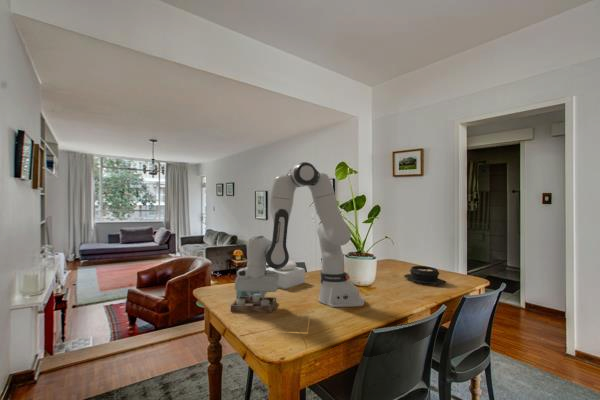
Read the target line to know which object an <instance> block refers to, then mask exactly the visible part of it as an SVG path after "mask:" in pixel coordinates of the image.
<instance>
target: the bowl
mask: <svg viewBox="0 0 600 400" xmlns="http://www.w3.org/2000/svg"><path fill="white" fill-rule="evenodd" d="M250 294H251V296H252V295H253V294H260V295H261V296H263V294H262V292H254V291H251V292H250ZM239 296H248V295H247V291H236V299H237V298H238V297H239Z"/></svg>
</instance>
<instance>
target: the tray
mask: <svg viewBox="0 0 600 400" xmlns="http://www.w3.org/2000/svg"><path fill="white" fill-rule="evenodd" d="M240 298H243V299H245V305H236V304H237V299H240ZM264 299H267V300H269V306H261V304H260V305H253V304H252V301H249V297H248V296H239V297H238V298H237V297H236V299H235V300H234V301H233V303H232V304H231V305H230V312H237V313H238V312H239V313H259V314H261V313H262V314H272V312H273V310H274V308H275V307H276V304H277V297H275V296H272V297H270V296H264Z"/></svg>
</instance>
